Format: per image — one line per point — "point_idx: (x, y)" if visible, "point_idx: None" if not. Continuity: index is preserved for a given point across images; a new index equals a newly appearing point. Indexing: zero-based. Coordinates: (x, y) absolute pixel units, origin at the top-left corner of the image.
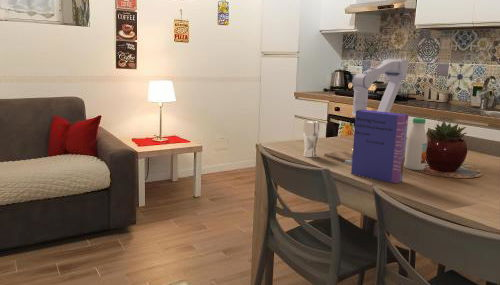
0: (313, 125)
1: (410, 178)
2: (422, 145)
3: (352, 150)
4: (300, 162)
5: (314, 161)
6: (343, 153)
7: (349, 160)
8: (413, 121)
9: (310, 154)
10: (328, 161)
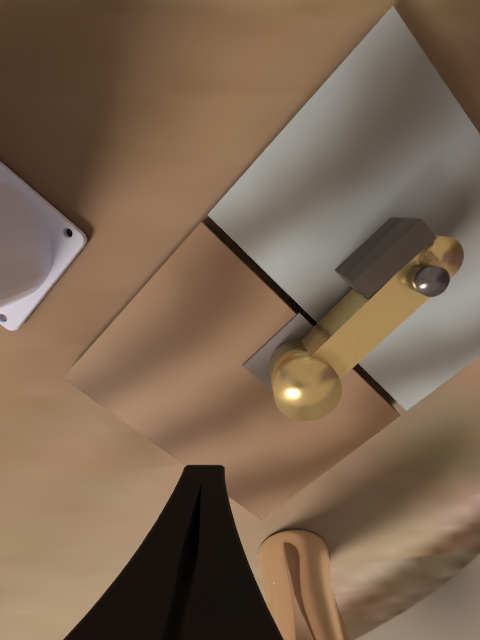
0: None
1: None
2: None
3: (325, 410)
4: (443, 563)
5: (405, 523)
6: (216, 436)
7: (409, 386)
8: None
9: (329, 565)
10: (384, 472)
